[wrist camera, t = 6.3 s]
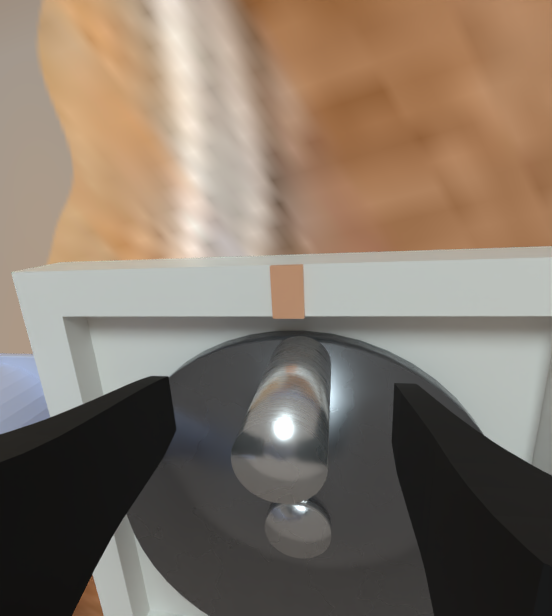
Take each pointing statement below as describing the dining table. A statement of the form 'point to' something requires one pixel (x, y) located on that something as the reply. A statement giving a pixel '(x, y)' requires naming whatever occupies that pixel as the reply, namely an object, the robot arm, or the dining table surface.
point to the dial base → (294, 317)
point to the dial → (287, 481)
